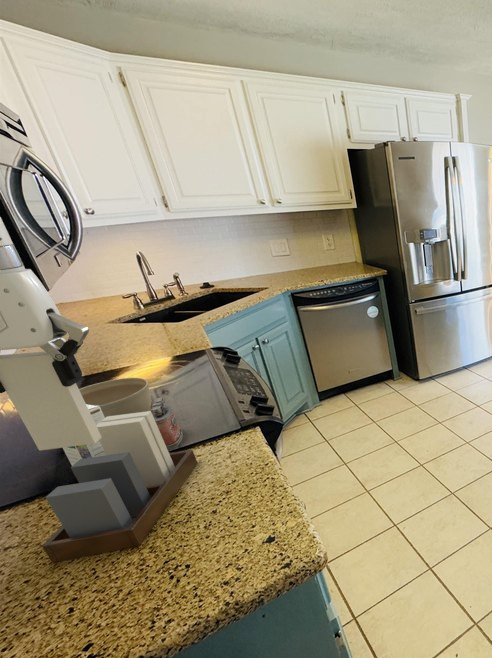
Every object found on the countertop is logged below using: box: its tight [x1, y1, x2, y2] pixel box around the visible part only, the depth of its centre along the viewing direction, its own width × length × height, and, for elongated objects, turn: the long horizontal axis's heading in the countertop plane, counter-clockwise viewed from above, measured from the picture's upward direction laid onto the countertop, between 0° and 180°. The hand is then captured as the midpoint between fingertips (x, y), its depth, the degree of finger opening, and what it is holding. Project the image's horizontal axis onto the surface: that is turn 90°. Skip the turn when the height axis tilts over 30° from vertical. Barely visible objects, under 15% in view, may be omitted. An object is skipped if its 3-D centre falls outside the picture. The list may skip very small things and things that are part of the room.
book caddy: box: [41, 449, 199, 564], centre depth 74 cm, size 12×23×4 cm, turn 16°
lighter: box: [151, 397, 184, 450], centre depth 93 cm, size 8×3×10 cm, turn 30°
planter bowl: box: [78, 377, 152, 418], centre depth 96 cm, size 16×16×11 cm
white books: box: [96, 410, 175, 487], centre depth 78 cm, size 7×4×15 cm, turn 106°
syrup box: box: [62, 404, 106, 467], centre depth 82 cm, size 6×6×14 cm
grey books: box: [45, 452, 151, 538], centre depth 68 cm, size 7×9×12 cm
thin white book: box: [0, 351, 102, 452], centre depth 60 cm, size 7×2×15 cm, turn 106°
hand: (40, 385), depth 59 cm, fingers closed on thin white book, 7 cm apart
